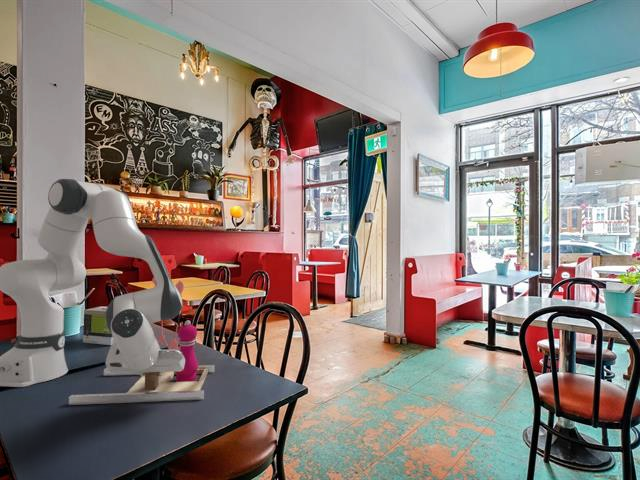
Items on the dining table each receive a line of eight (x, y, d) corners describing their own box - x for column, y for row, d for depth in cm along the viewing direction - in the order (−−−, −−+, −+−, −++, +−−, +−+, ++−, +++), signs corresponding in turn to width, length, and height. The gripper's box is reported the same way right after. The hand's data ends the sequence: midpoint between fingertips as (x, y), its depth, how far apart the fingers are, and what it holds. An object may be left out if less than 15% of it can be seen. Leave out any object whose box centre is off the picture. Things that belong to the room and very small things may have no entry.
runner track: (68, 404, 95) (68, 396, 95) (105, 374, 117) (105, 367, 117) (203, 399, 101) (203, 391, 101) (214, 371, 122) (214, 365, 122)
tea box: (128, 339, 156) (129, 307, 156) (110, 346, 146) (111, 311, 147) (101, 336, 160) (102, 305, 160) (81, 342, 150) (83, 309, 150)
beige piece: (124, 400, 99) (125, 363, 99) (147, 374, 117) (148, 343, 117) (196, 397, 102) (197, 361, 102) (207, 372, 120) (208, 342, 120)
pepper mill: (189, 386, 109) (191, 323, 109) (169, 383, 111) (171, 322, 111) (201, 377, 116) (203, 318, 116) (182, 375, 118) (184, 317, 118)
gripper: (183, 341, 98) (190, 363, 108) (106, 342, 95) (120, 364, 105) (179, 362, 94) (186, 383, 103) (98, 364, 91) (113, 385, 100)
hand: (152, 373), depth 104 cm, fingers closed on beige piece, 3 cm apart
